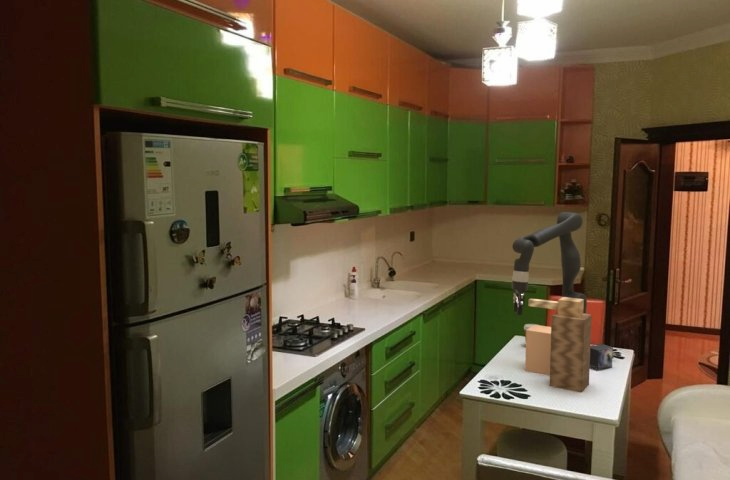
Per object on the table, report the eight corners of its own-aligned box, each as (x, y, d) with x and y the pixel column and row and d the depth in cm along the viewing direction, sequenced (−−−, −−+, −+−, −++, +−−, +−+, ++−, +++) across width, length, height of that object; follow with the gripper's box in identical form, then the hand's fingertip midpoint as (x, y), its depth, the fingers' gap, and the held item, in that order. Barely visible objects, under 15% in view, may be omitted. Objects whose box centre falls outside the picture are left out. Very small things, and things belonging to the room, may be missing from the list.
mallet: (526, 311, 262) (527, 296, 261) (531, 308, 268) (532, 293, 267) (579, 317, 249) (579, 302, 248) (583, 314, 254) (583, 299, 254)
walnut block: (549, 386, 256) (551, 315, 253) (557, 378, 266) (559, 310, 263) (581, 392, 249) (584, 320, 245) (588, 384, 258) (591, 314, 255)
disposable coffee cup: (526, 343, 321) (527, 322, 320) (543, 346, 316) (544, 325, 314) (520, 348, 313) (521, 326, 312) (537, 351, 308) (538, 329, 307)
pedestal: (525, 370, 277) (526, 330, 275) (533, 363, 287) (534, 324, 285) (554, 376, 269) (555, 334, 267) (561, 369, 279) (563, 328, 277)
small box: (597, 371, 275) (598, 350, 274) (586, 367, 281) (587, 346, 280) (612, 368, 280) (613, 347, 279) (601, 364, 286) (602, 343, 285)
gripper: (531, 282, 272) (528, 316, 273) (524, 278, 286) (522, 311, 287) (515, 281, 272) (512, 315, 273) (509, 277, 286) (507, 309, 287)
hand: (517, 313), depth 280 cm, fingers open, 8 cm apart
